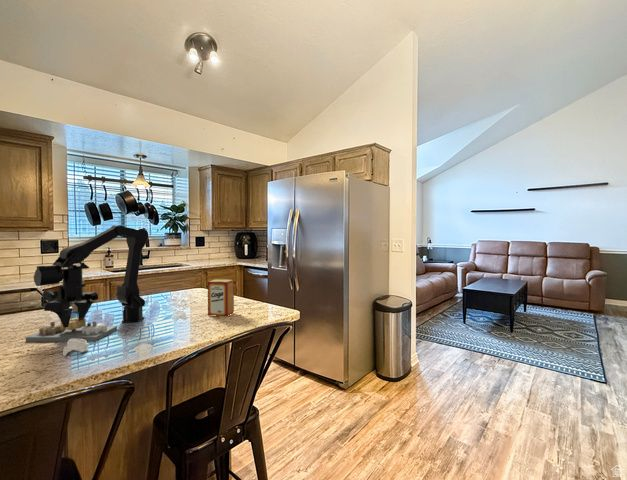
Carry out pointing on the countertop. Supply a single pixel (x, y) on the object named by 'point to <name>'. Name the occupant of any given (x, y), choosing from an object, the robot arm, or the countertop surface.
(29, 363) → the countertop surface
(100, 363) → the countertop surface
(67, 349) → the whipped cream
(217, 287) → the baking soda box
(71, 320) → the brass gear
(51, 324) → the gear board
